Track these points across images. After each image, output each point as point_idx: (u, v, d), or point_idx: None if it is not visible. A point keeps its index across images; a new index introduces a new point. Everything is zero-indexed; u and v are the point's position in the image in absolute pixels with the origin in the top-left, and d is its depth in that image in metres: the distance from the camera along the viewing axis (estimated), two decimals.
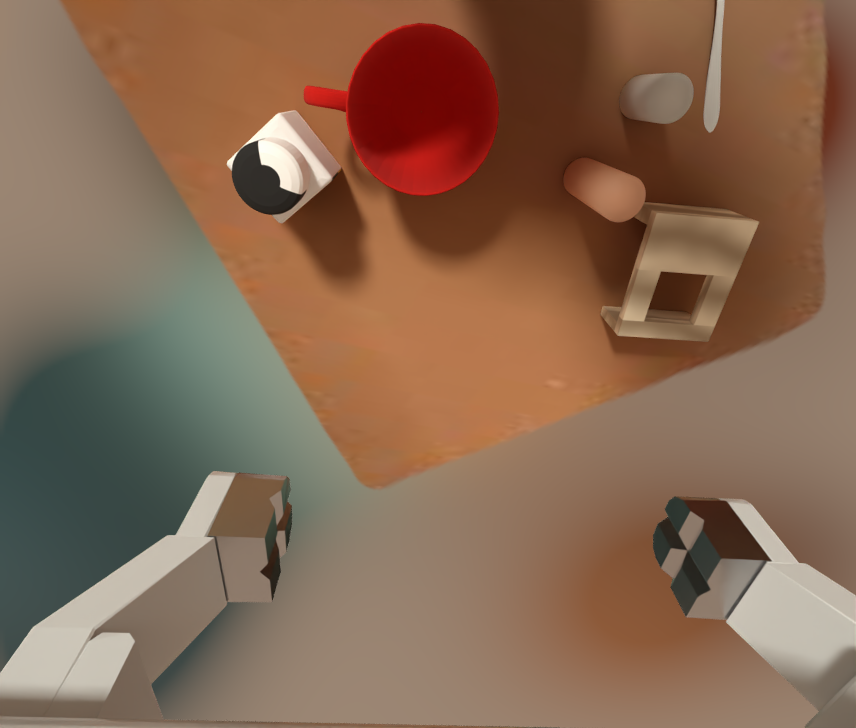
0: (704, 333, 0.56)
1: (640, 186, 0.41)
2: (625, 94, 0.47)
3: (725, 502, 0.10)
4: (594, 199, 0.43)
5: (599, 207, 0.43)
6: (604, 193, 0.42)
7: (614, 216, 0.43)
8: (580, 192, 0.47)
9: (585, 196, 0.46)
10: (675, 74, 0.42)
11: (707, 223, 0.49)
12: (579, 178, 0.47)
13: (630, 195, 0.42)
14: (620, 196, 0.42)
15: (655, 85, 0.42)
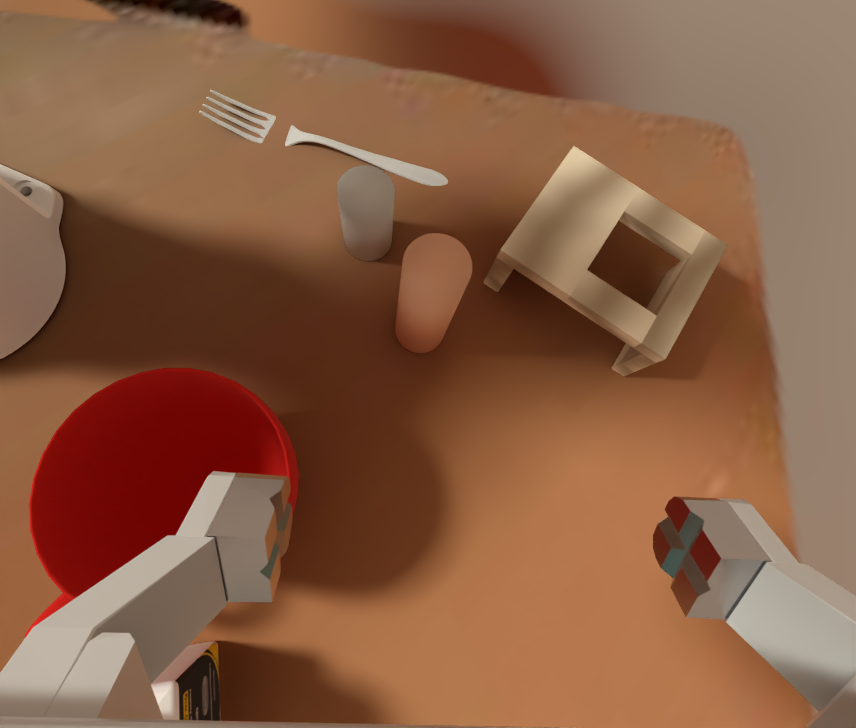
0: (711, 246, 0.36)
1: (432, 237, 0.27)
2: (352, 247, 0.38)
3: (724, 502, 0.10)
4: (423, 305, 0.28)
5: (433, 299, 0.27)
6: (414, 284, 0.27)
7: (458, 283, 0.27)
8: (419, 327, 0.32)
9: (422, 320, 0.31)
10: (342, 178, 0.33)
11: (546, 199, 0.36)
12: (404, 323, 0.33)
13: (437, 253, 0.27)
14: (431, 266, 0.27)
15: (341, 200, 0.33)
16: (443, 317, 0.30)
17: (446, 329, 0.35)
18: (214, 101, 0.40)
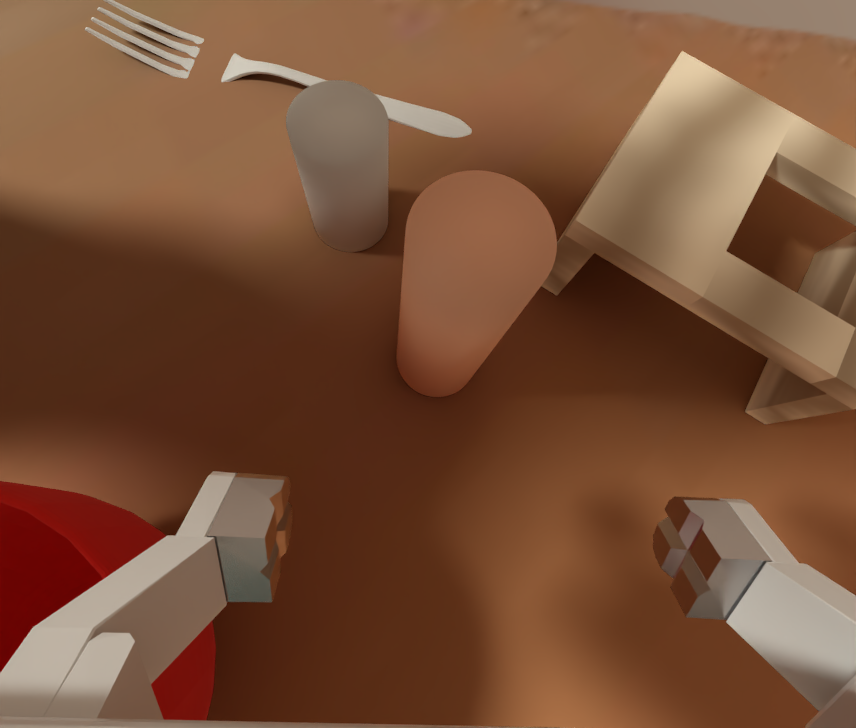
0: None
1: (468, 179, 0.13)
2: (323, 229, 0.24)
3: (725, 502, 0.10)
4: (451, 324, 0.13)
5: (474, 311, 0.12)
6: (433, 279, 0.12)
7: (528, 275, 0.12)
8: (440, 363, 0.17)
9: (447, 351, 0.16)
10: (296, 101, 0.19)
11: (645, 134, 0.21)
12: (412, 355, 0.18)
13: (480, 212, 0.13)
14: (468, 240, 0.12)
15: (293, 138, 0.18)
16: (487, 344, 0.16)
17: None
18: (110, 14, 0.26)
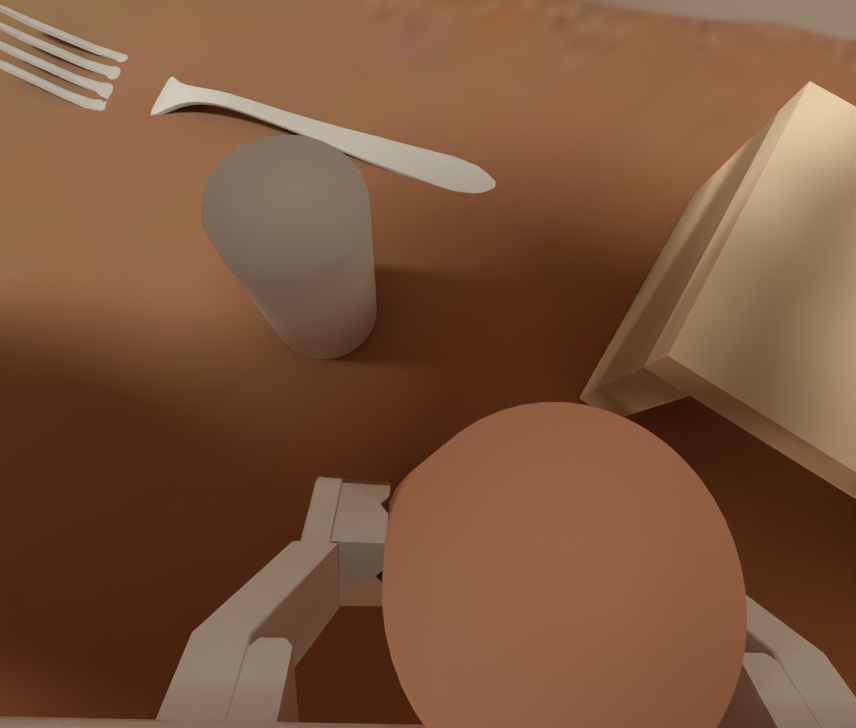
0: None
1: (531, 428, 0.06)
2: (282, 336, 0.16)
3: None
4: None
5: None
6: (453, 725, 0.05)
7: (687, 694, 0.05)
8: None
9: None
10: (220, 171, 0.12)
11: (765, 212, 0.14)
12: None
13: (560, 515, 0.05)
14: (537, 598, 0.05)
15: (212, 235, 0.11)
16: None
17: None
18: None
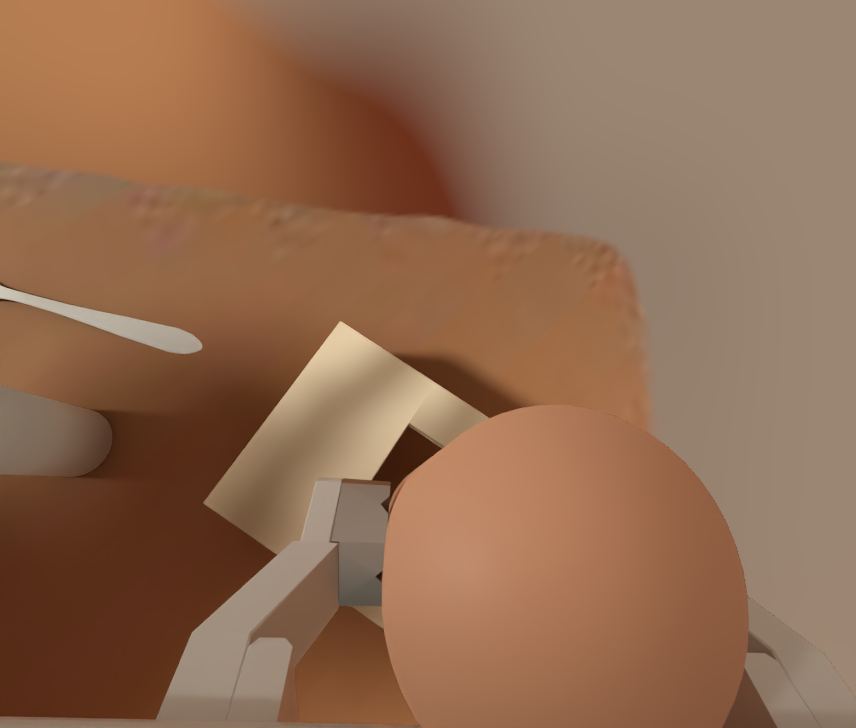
0: None
1: (532, 431, 0.06)
2: None
3: None
4: None
5: None
6: None
7: (688, 699, 0.05)
8: None
9: None
10: None
11: (287, 410, 0.24)
12: None
13: (561, 519, 0.05)
14: (537, 602, 0.05)
15: None
16: None
17: None
18: None
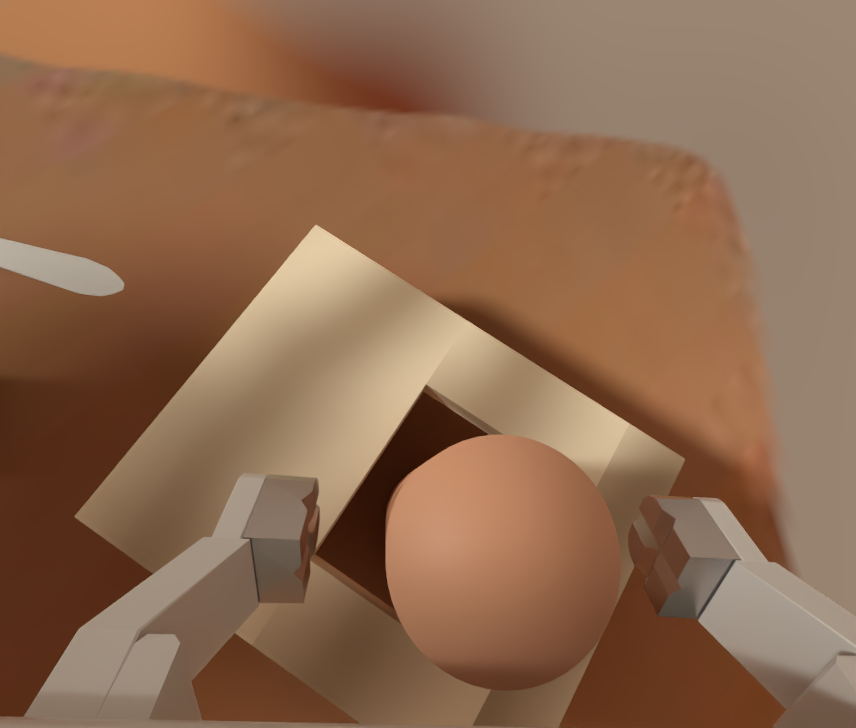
0: (644, 466, 0.15)
1: (484, 452, 0.08)
2: None
3: (698, 501, 0.10)
4: None
5: None
6: (429, 640, 0.08)
7: (578, 622, 0.08)
8: None
9: None
10: None
11: (226, 363, 0.14)
12: None
13: (501, 510, 0.08)
14: (485, 562, 0.08)
15: None
16: None
17: None
18: None
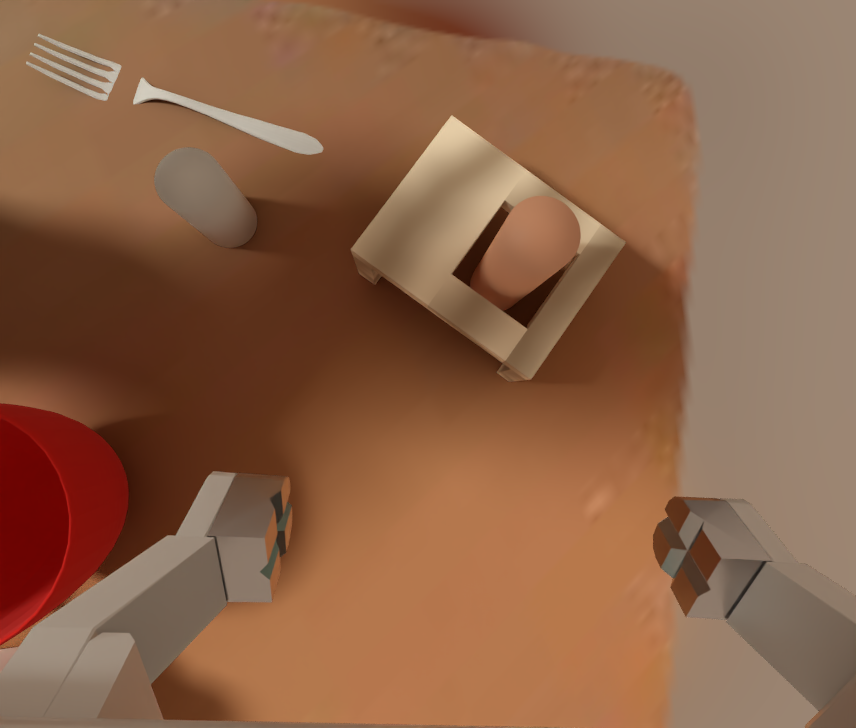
0: (605, 244, 0.31)
1: (537, 201, 0.25)
2: None
3: (725, 502, 0.10)
4: (521, 276, 0.26)
5: (536, 272, 0.25)
6: (517, 256, 0.24)
7: (564, 255, 0.25)
8: (506, 293, 0.30)
9: (514, 288, 0.29)
10: (161, 164, 0.29)
11: (411, 185, 0.30)
12: (489, 287, 0.31)
13: (542, 220, 0.25)
14: (535, 235, 0.25)
15: (159, 192, 0.29)
16: (537, 285, 0.28)
17: None
18: (44, 48, 0.34)
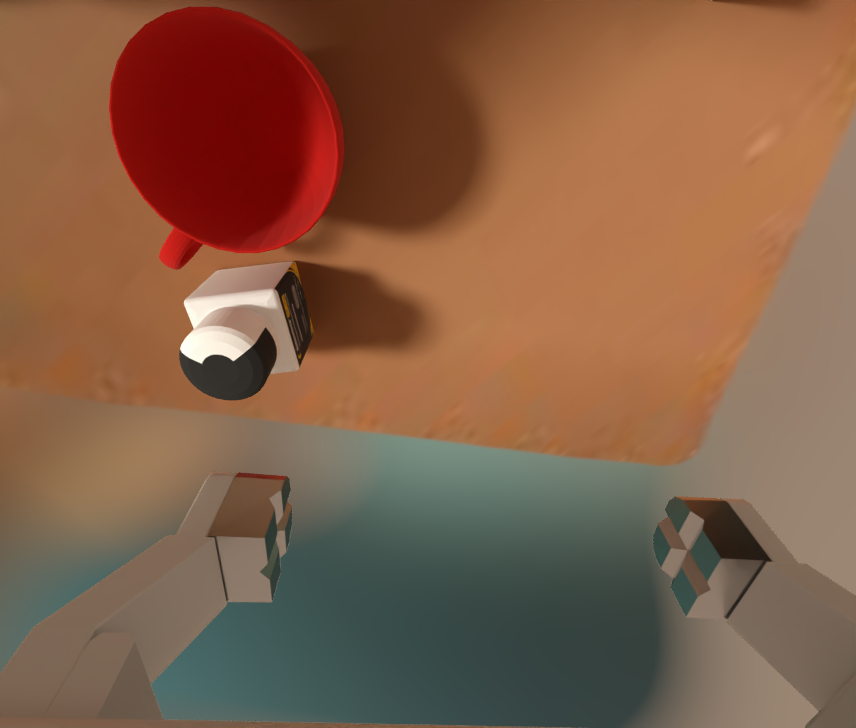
0: None
1: None
2: None
3: (724, 502, 0.10)
4: None
5: None
6: None
7: None
8: None
9: None
10: None
11: None
12: None
13: None
14: None
15: None
16: None
17: None
18: None
